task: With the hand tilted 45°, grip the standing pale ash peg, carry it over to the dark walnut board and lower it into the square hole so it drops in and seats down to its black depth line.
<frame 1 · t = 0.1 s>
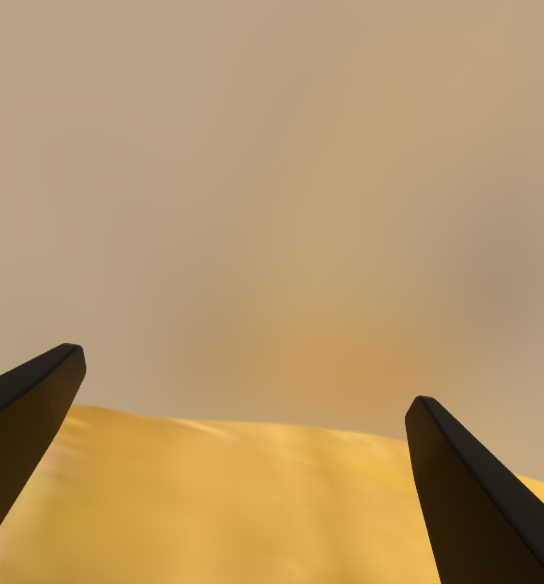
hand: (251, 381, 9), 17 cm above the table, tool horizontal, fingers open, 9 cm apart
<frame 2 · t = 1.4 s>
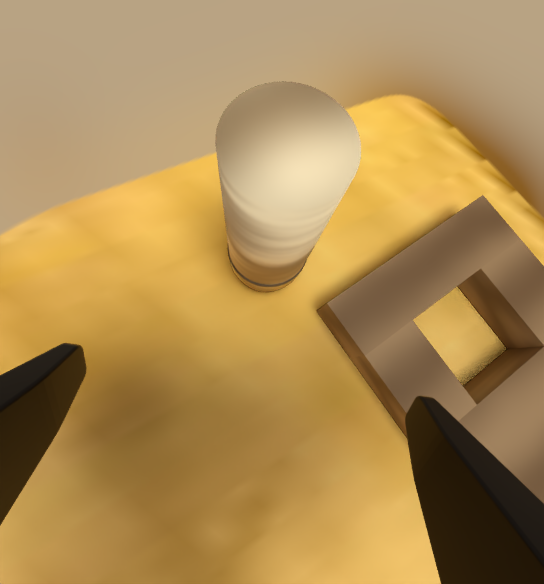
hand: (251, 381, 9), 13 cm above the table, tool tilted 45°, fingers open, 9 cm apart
board: (486, 384, 23), on the table
peg: (265, 262, 24), on the table
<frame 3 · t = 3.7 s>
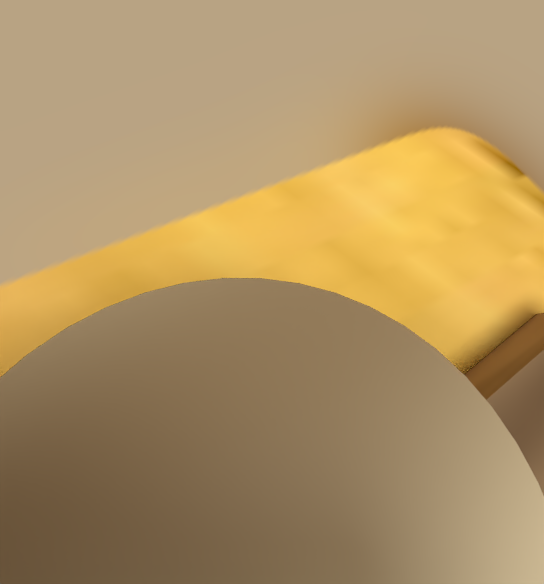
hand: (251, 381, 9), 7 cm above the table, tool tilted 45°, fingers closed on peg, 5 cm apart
peg: (243, 406, 15), on the table, touching gripper
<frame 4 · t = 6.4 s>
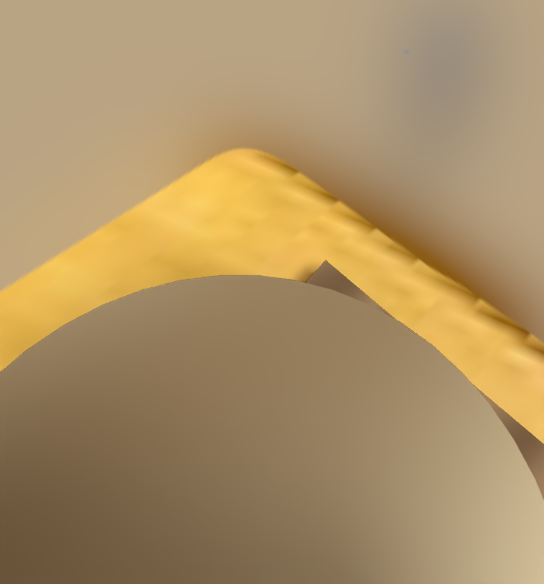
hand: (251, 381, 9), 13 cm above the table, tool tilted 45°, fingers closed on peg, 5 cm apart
board: (377, 458, 21), on the table
peg: (243, 406, 15), point 7 cm above the table, touching gripper
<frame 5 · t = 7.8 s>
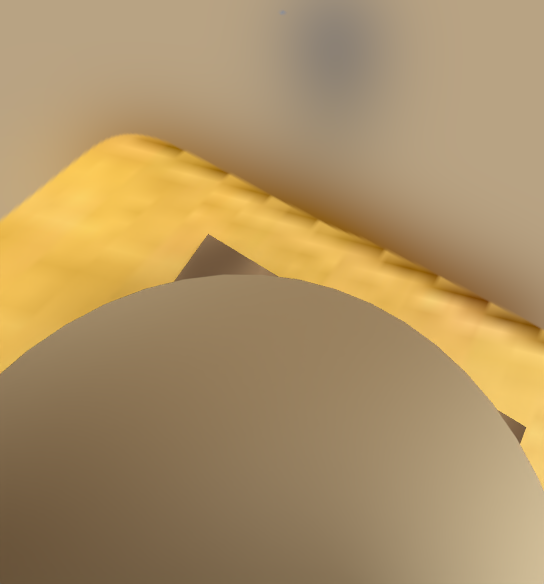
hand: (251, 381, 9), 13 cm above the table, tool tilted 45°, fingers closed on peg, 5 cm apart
board: (297, 426, 21), on the table
peg: (243, 405, 15), point 6 cm above the table, touching gripper
when the fingers open (8 cm above the table, at t = 9.1 s): peg drops 2 cm, resting in board.
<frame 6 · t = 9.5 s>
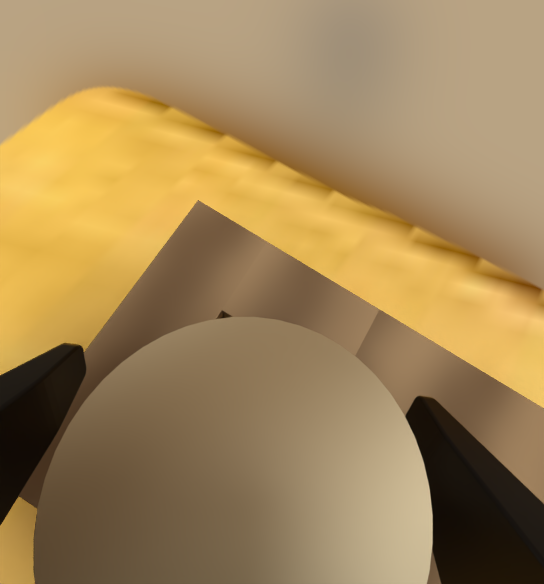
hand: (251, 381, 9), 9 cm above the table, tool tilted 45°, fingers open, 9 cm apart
board: (310, 444, 17), on the table
peg: (243, 402, 17), resting in board
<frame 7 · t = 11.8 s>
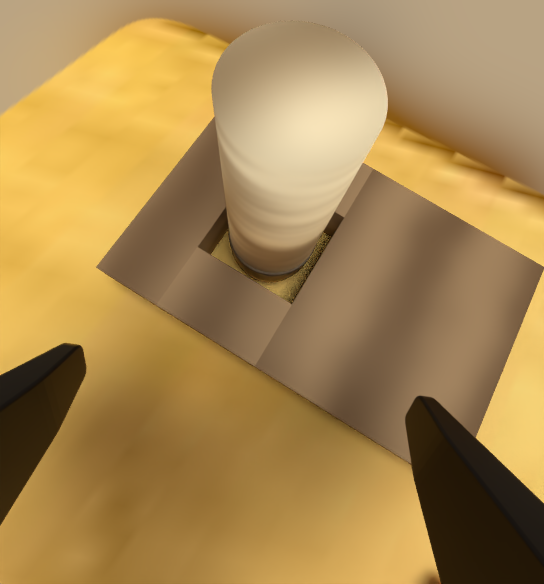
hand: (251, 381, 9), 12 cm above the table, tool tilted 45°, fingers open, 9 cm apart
board: (320, 280, 22), on the table
peg: (269, 250, 22), resting in board
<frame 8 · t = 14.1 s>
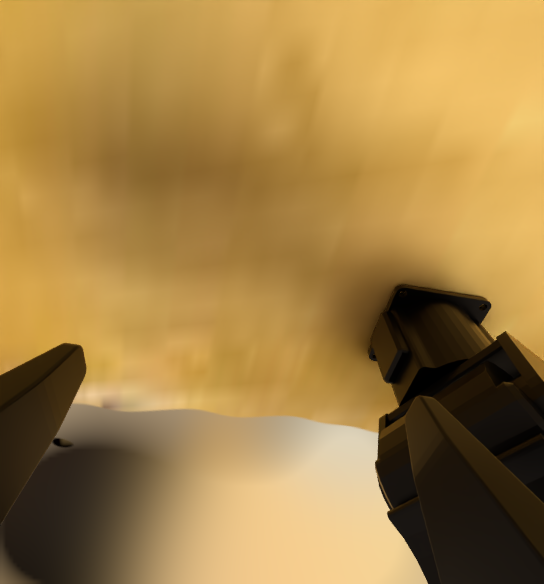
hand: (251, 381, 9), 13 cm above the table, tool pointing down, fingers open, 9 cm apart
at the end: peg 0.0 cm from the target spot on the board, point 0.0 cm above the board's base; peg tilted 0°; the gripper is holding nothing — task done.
